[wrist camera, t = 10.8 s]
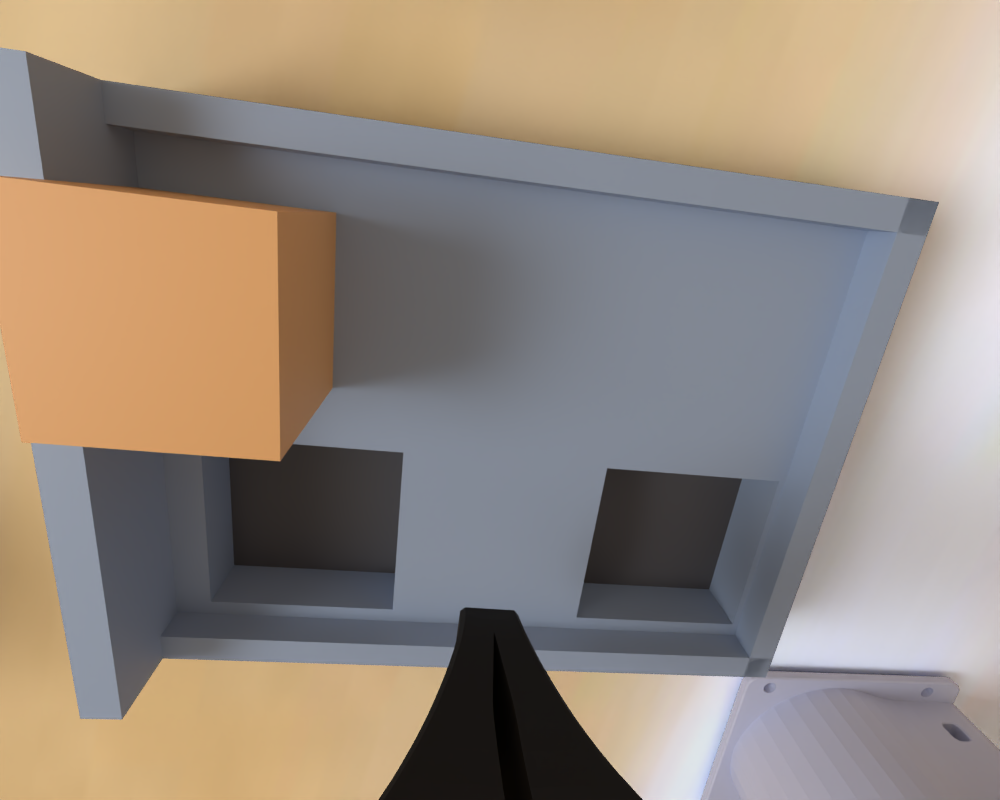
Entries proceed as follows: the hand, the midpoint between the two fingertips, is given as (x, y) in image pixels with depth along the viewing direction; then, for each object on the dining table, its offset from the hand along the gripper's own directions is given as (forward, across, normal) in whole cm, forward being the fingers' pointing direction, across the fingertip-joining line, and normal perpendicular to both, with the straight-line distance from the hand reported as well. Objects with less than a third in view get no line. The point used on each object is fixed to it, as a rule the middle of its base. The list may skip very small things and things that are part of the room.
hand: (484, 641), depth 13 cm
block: (+3, +7, -7) cm, 11 cm away
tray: (+6, 0, -4) cm, 7 cm away
